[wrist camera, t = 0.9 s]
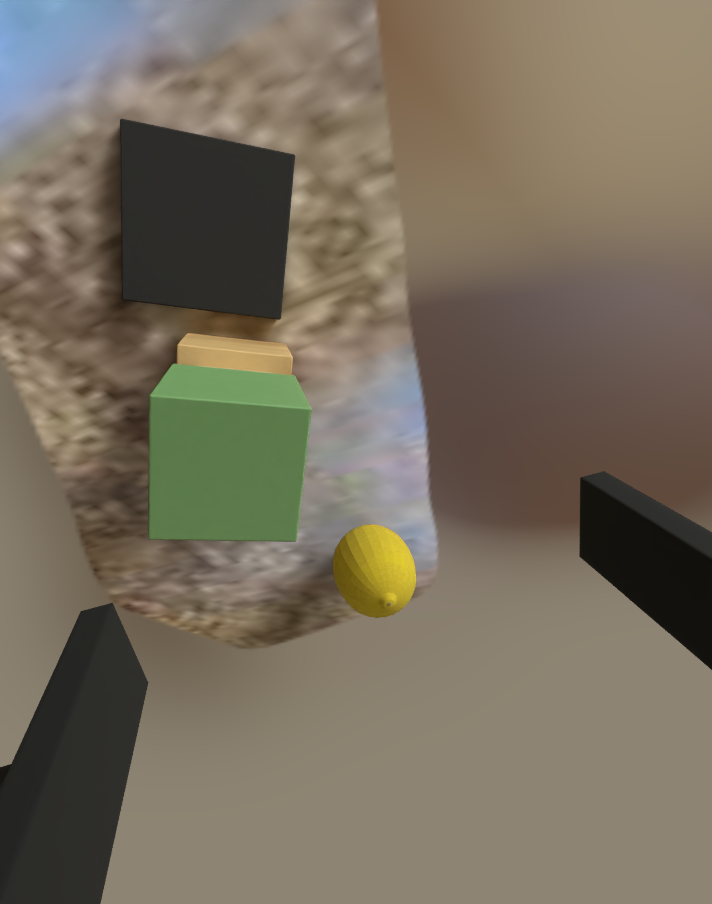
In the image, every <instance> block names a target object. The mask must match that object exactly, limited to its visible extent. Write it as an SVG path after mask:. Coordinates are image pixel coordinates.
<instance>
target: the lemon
mask: <svg viewBox="0 0 712 904" xmlns="http://www.w3.org/2000/svg"><path fill="white" fill-rule="evenodd" d="M333 575H334V579H335V582H336V585H337V587H338V590H339V592H340V593H341V595H342V596H343V597H344V599H345V600H346V602H347V603H348V604H349V605H350V606H351V607H352V608H354V609H355V610H356V611H357V612H359V613H361V614H363V615H366V616H369V617H375V618H379V617H387V616H390V615H393V614H395V613H397V612H398V611H400V610H401V609H402V608H403V607H404V606H406V604H407V603H408V602H409V600H410V599H411V597H412V594H413V592H414V589H415V584H416V571H415V564H414V560H413V558H412V555H411V553H410V551H409V549H408V547H407V545H406V544H405V543H404V542H403V540H402V539H401V538H400V537H399V536H398V535H397V534H396V533H394V532H393V531H391V530H389V529H388V528H385V527H382V526H379V525H363V526H359V527H357V528H354V529H353V530H351V531H350V532H348V533H347V534H346V535H345V536H344V537H343V538H342V539H341V540H340V542H339V544H338V546H337V547H336V550H335V554H334V557H333Z"/></svg>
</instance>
